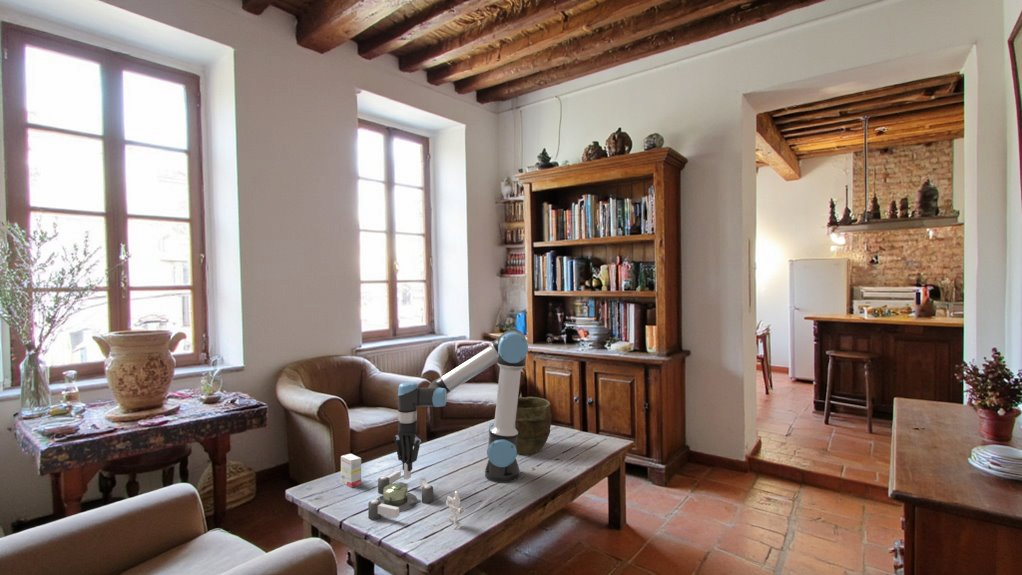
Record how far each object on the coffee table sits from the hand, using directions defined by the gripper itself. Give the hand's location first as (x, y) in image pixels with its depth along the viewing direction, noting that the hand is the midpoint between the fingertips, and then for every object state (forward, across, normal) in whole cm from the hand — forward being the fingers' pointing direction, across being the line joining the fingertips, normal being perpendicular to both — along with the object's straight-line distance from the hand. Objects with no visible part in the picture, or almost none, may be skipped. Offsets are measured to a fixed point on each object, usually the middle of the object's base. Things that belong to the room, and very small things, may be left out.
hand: (407, 478), depth 196 cm
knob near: (+4, -12, +4) cm, 13 cm away
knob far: (+4, +6, +3) cm, 8 cm away
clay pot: (+4, -28, -61) cm, 67 cm away
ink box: (+5, +24, +6) cm, 25 cm away
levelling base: (+5, -4, +16) cm, 17 cm away
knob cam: (+4, -8, +25) cm, 26 cm away
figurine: (+5, -33, +18) cm, 38 cm away
